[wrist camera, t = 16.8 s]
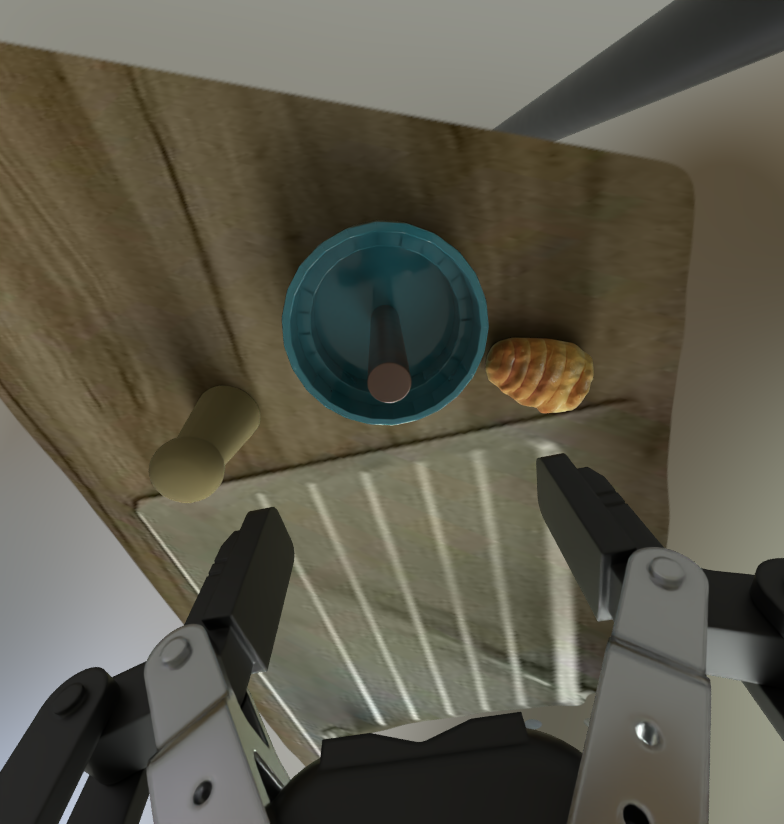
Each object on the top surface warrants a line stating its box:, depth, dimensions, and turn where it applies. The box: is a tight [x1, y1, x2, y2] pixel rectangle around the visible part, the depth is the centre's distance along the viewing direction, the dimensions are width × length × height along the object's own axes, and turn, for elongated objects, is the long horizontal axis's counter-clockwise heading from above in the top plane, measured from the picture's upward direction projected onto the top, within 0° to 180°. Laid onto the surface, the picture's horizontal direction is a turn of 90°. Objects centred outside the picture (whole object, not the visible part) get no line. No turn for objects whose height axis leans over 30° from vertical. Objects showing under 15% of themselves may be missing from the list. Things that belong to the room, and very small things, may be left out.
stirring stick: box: [367, 305, 411, 403], centre depth 27 cm, size 2×2×14 cm
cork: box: [149, 386, 260, 503], centre depth 33 cm, size 6×6×11 cm
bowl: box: [282, 220, 489, 425], centre depth 31 cm, size 15×15×6 cm
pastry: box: [486, 338, 594, 413], centre depth 35 cm, size 9×7×4 cm
